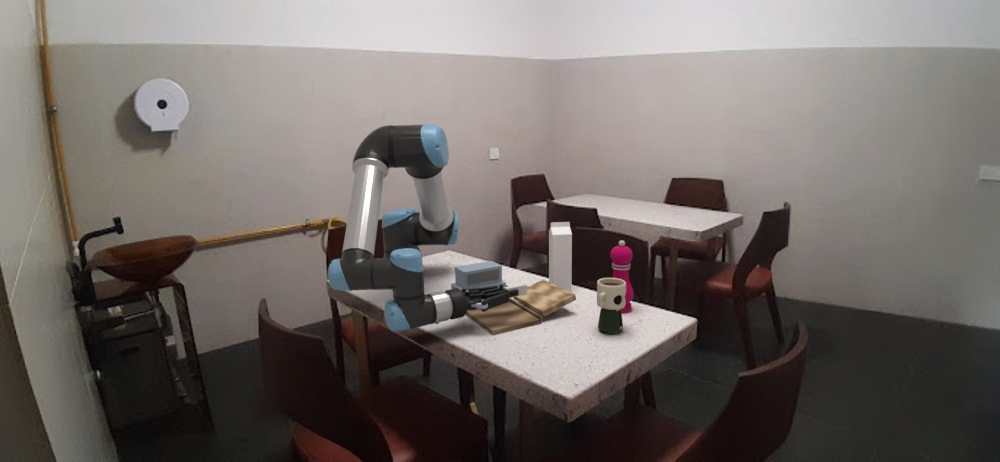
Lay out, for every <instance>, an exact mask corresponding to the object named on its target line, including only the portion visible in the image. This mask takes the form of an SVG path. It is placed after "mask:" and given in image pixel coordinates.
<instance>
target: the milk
mask: <svg viewBox="0 0 1000 462" xmlns="http://www.w3.org/2000/svg"><path fill="white" fill-rule="evenodd" d="M572 244H573V233H572V229H571V224H570V221H557V222H555V221H554V222H550V228H549V230H548V282H549V283H552V284H554V285H556V286H558V287H560V288H562V289H564V290H566V291H569V292H571V293H572V287H573V285H572V279H573V278H572V277H573V276H572V271H573V269H572V268H573V267H572V266H573V265H572V264H573V263H572V261H573V260H572V258H573V254H572V253H573V249H572V248H573V247H572V246H573V245H572Z"/></svg>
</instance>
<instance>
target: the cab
mask: <svg viewBox="0 0 1000 462" xmlns="http://www.w3.org/2000/svg"><path fill="white" fill-rule="evenodd" d="M502 267H503V266H502V265H501V264H499V263H497V262H495V261H494V260H487V261H481V262H476V263H469V264H464V265H463V264H462V265H459V266H458V265H457V266H454V275H455V276H454V277H455V282H452V283H450V289H455V288H458V289H460V290H461V291H462V289H472V288H481V287H490V286H498V288H499V287H500V285H503V288H504V287H509V285H507V282H505V281H504V280H503V268H502Z"/></svg>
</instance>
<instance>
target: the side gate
mask: <svg viewBox="0 0 1000 462" xmlns="http://www.w3.org/2000/svg"><path fill="white" fill-rule="evenodd" d="M512 299H513V300H514V301H516V302H518V303H520V304H521V305H523V306H525V307H526V308H528V309H530V310H532V311H533V312H535V313H537V314H538V315H540V316H542V317H546V316H548V315H550V314H552V313H554V312H557V311H558V310H560V309H561V308H563V307H566V306H567V305H569V304H572V303H573V302H575V301H576V300H577V297H576V294H574V293H573V292H572V291H571V292H569V291H566V290H564V289H562V288H560V287H558V286H556V285H554V284H552V283H549V281H547V280H545V279H541V280H539V281H537V282H535V283H532V284H531V285H529V286H527V294H526V295H521V296H517V297H512Z"/></svg>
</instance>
